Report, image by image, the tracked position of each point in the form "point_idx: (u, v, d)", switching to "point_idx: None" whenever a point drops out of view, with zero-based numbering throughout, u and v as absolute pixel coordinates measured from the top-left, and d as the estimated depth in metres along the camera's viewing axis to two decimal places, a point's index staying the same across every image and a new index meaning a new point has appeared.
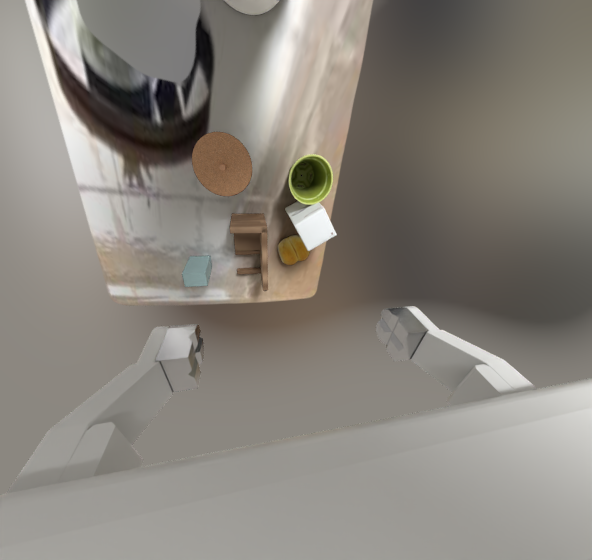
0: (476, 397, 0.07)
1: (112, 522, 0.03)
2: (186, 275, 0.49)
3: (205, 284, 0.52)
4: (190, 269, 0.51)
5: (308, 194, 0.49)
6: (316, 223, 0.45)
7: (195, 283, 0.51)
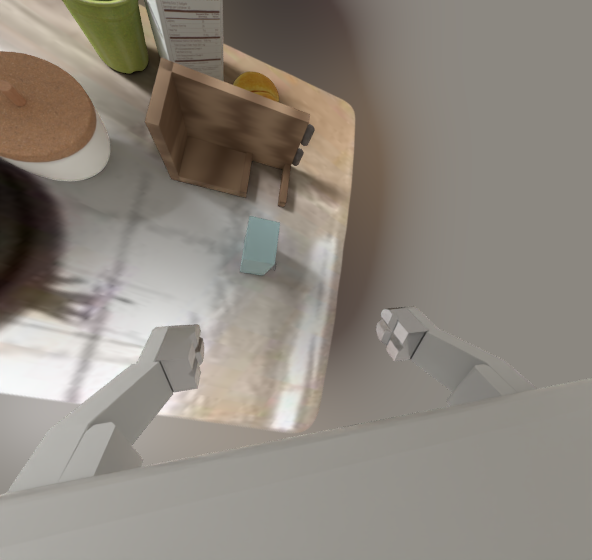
0: (476, 397, 0.07)
1: (112, 522, 0.03)
2: (246, 250, 0.23)
3: (276, 225, 0.25)
4: None
5: (141, 23, 0.28)
6: None
7: (270, 242, 0.24)
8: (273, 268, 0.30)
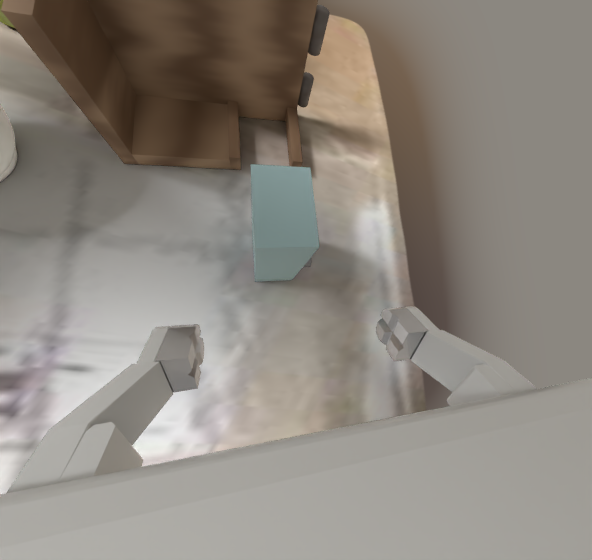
0: (476, 397, 0.07)
1: (112, 522, 0.03)
2: (259, 230, 0.11)
3: (305, 173, 0.13)
4: None
5: None
6: None
7: (301, 206, 0.12)
8: (308, 263, 0.18)
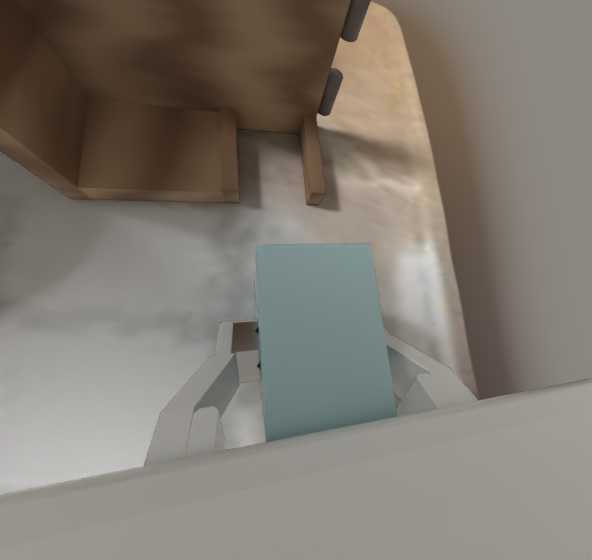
0: (417, 408, 0.07)
1: (112, 522, 0.03)
2: (274, 399, 0.05)
3: (361, 256, 0.07)
4: None
5: None
6: None
7: (358, 330, 0.06)
8: None
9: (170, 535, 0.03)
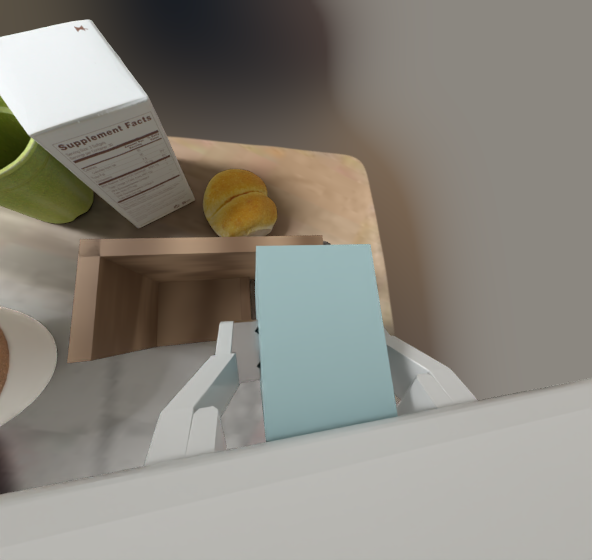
0: (417, 408, 0.07)
1: (112, 522, 0.03)
2: (274, 400, 0.05)
3: (361, 257, 0.07)
4: None
5: None
6: (28, 66, 0.13)
7: (358, 331, 0.06)
8: None
9: (170, 535, 0.03)
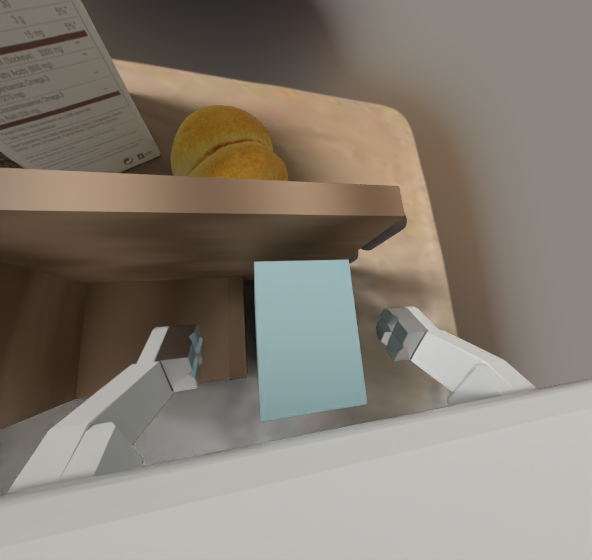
0: (476, 397, 0.07)
1: (112, 522, 0.03)
2: (267, 385, 0.07)
3: (341, 270, 0.08)
4: None
5: None
6: None
7: (336, 331, 0.07)
8: None
9: (170, 535, 0.03)
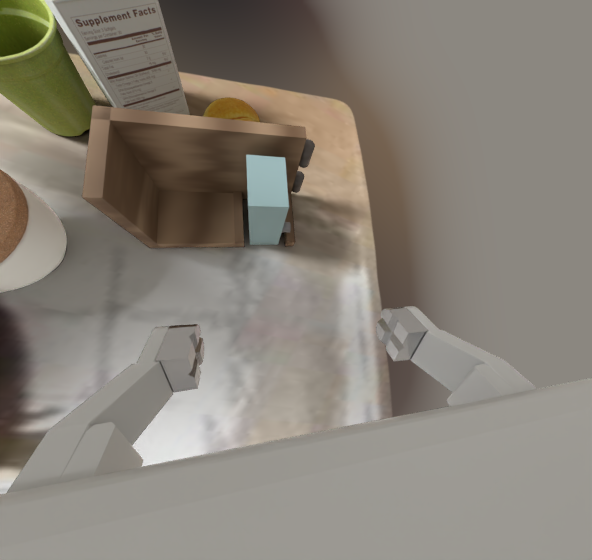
0: (476, 397, 0.07)
1: (112, 522, 0.03)
2: (250, 195, 0.18)
3: (281, 161, 0.20)
4: None
5: None
6: None
7: (278, 182, 0.19)
8: (288, 229, 0.25)
9: (170, 535, 0.03)
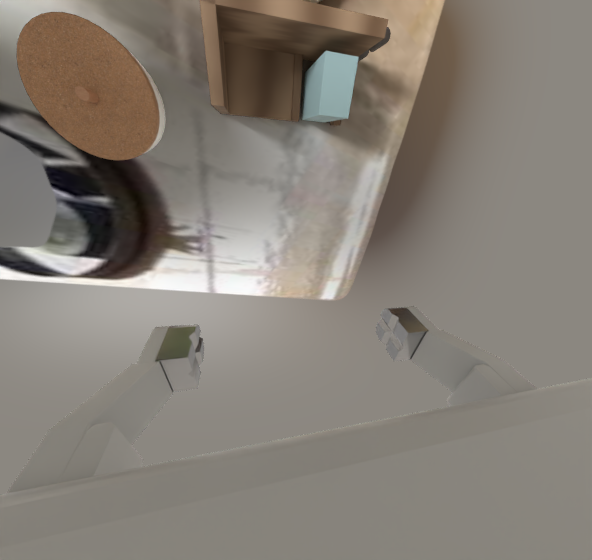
0: (476, 397, 0.07)
1: (112, 522, 0.03)
2: (322, 103, 0.23)
3: (354, 62, 0.22)
4: (315, 100, 0.25)
5: None
6: None
7: (346, 89, 0.23)
8: None
9: (170, 535, 0.03)
